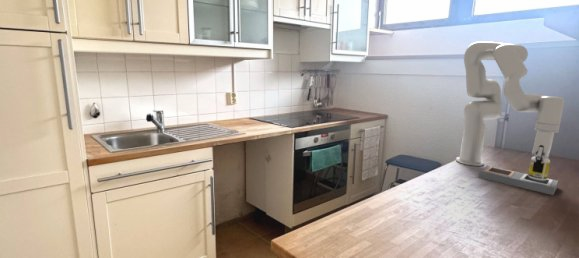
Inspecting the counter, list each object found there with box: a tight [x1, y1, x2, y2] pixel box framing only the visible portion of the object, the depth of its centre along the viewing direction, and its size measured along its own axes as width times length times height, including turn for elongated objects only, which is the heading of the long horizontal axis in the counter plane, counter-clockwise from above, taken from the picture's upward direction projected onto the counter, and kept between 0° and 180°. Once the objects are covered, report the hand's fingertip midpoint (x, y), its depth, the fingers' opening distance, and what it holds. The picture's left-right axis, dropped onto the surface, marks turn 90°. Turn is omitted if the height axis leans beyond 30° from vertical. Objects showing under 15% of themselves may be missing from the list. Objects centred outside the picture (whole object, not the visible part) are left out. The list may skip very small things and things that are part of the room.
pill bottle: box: [527, 153, 551, 181], centre depth 130 cm, size 6×6×11 cm
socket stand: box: [478, 165, 559, 196], centre depth 136 cm, size 12×26×3 cm, turn 45°
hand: (538, 169), depth 131 cm, fingers closed on pill bottle, 6 cm apart
